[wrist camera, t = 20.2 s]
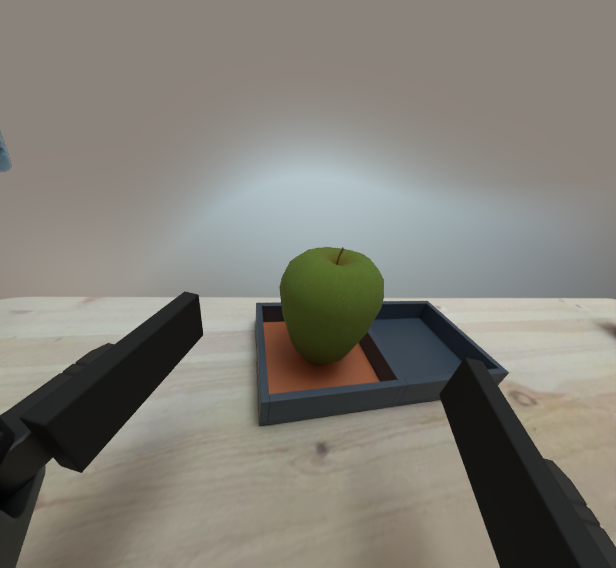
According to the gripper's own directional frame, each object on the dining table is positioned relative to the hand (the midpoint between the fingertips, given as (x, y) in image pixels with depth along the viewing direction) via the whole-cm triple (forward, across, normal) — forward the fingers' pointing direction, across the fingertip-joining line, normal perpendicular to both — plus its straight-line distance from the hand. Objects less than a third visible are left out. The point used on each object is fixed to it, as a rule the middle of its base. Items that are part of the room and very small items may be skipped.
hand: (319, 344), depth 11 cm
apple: (+8, 0, -9) cm, 12 cm away
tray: (+10, +5, -10) cm, 15 cm away
